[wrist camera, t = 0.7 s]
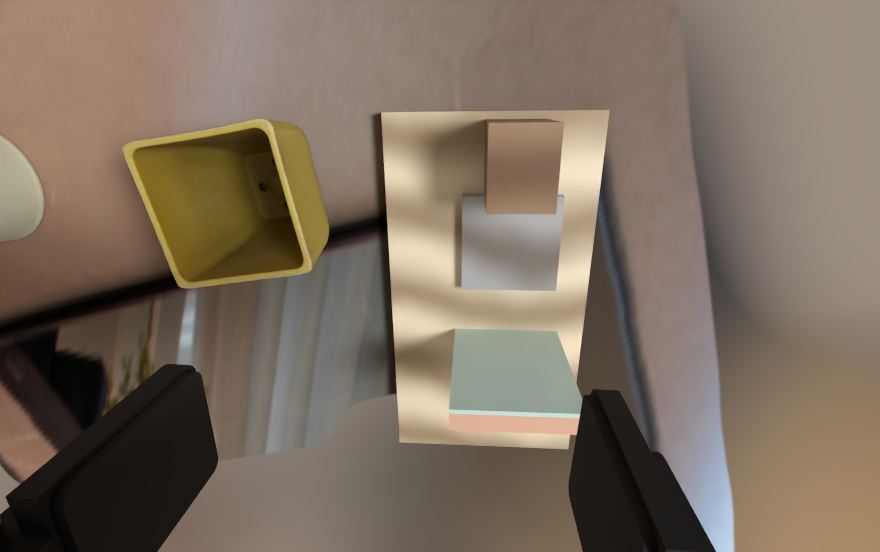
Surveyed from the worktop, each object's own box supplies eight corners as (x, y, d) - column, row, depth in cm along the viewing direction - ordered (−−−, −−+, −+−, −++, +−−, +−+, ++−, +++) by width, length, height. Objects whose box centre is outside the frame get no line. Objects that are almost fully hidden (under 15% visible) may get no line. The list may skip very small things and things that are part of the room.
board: (384, 112, 31) (381, 112, 29) (604, 109, 29) (609, 109, 28) (401, 432, 41) (399, 442, 40) (565, 439, 40) (568, 449, 39)
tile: (455, 328, 35) (448, 409, 26) (556, 330, 34) (587, 414, 25) (455, 344, 36) (448, 430, 26) (555, 347, 35) (584, 435, 26)
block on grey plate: (462, 119, 29) (460, 123, 24) (569, 118, 29) (592, 121, 23) (461, 285, 34) (459, 321, 28) (554, 286, 33) (570, 323, 28)
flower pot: (247, 246, 35) (176, 291, 27) (209, 133, 32) (116, 143, 24) (352, 231, 34) (313, 273, 26) (324, 113, 31) (269, 116, 22)
